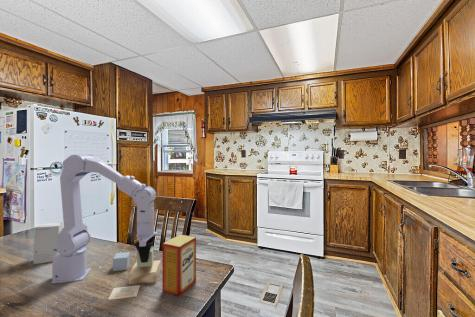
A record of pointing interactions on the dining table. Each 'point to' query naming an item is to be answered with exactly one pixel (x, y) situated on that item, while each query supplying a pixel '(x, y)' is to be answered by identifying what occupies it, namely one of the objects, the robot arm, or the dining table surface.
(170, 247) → the baking soda box
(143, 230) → the robot arm
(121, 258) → the dusty blue block
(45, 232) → the skincare box
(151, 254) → the sage green block
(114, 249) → the dining table surface
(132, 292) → the card
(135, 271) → the birch base block
